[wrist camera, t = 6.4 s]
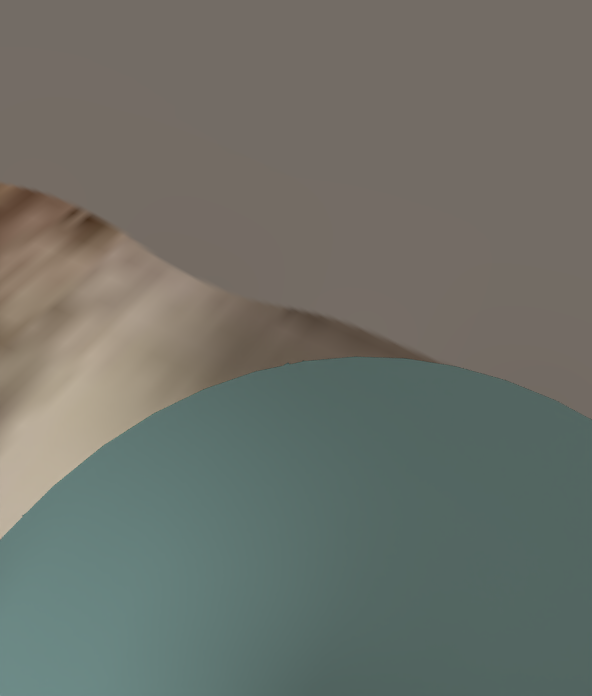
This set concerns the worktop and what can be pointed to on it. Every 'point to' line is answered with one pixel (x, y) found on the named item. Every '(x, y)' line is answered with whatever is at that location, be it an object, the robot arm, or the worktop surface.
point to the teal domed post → (314, 544)
